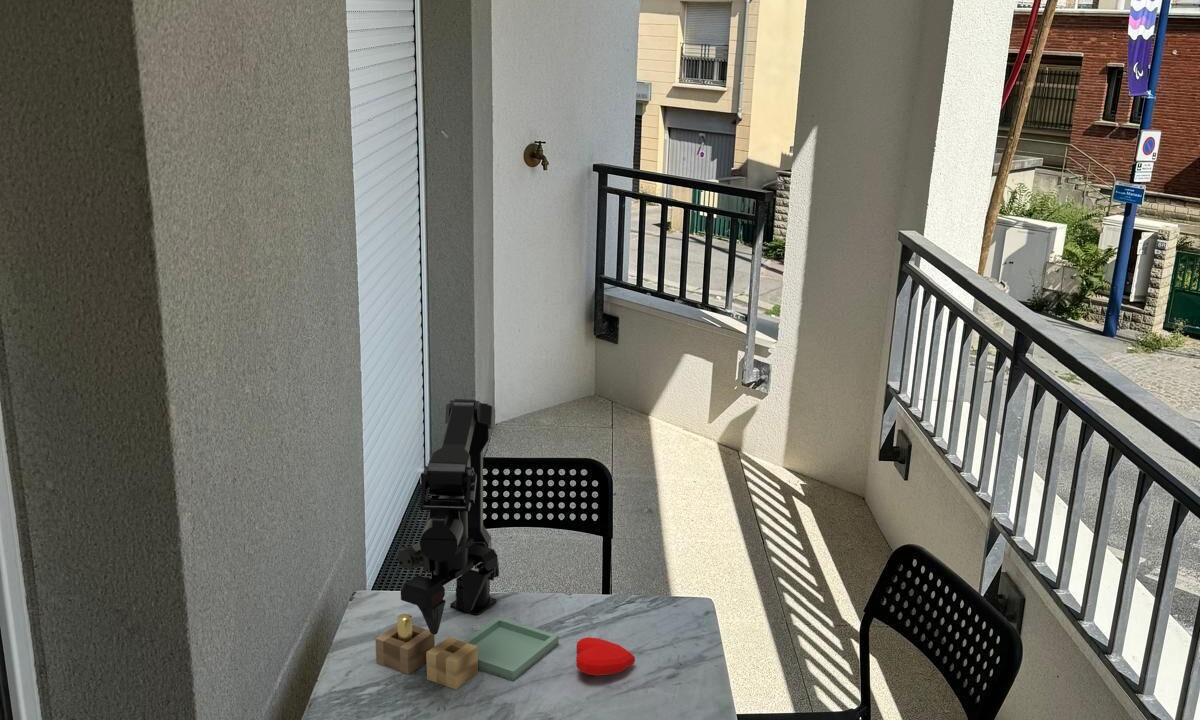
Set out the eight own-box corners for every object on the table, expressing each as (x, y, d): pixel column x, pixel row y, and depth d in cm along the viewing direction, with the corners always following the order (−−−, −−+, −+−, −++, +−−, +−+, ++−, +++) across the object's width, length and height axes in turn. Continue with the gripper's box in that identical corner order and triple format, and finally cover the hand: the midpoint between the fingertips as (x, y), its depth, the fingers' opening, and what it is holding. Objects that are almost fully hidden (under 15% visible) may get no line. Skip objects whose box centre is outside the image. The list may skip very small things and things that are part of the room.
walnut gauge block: (403, 645, 192) (402, 621, 191) (434, 656, 188) (434, 631, 187) (376, 662, 186) (375, 638, 185) (408, 674, 182) (407, 649, 181)
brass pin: (416, 658, 188) (414, 616, 185) (407, 664, 186) (405, 621, 183) (405, 654, 189) (403, 612, 187) (396, 660, 187) (394, 618, 185)
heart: (631, 659, 192) (575, 653, 191) (634, 636, 191) (578, 629, 191) (635, 686, 180) (574, 679, 180) (638, 661, 179) (577, 654, 179)
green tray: (498, 625, 199) (498, 616, 199) (558, 644, 193) (558, 635, 192) (450, 659, 187) (450, 650, 187) (513, 681, 181) (513, 671, 181)
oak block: (449, 663, 186) (448, 636, 185) (477, 673, 183) (477, 646, 182) (426, 679, 181) (426, 652, 180) (456, 689, 178) (455, 662, 177)
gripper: (445, 504, 187) (447, 587, 191) (372, 543, 172) (375, 633, 176) (499, 518, 182) (499, 603, 186) (428, 560, 166) (430, 652, 171)
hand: (451, 621), depth 180 cm, fingers open, 9 cm apart
